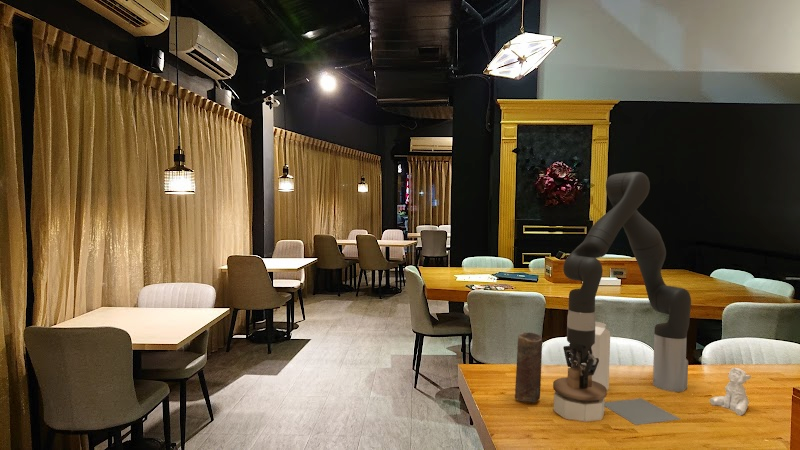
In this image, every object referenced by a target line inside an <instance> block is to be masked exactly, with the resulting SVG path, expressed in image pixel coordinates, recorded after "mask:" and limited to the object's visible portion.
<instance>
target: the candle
mask: <svg viewBox="0 0 800 450" xmlns="http://www.w3.org/2000/svg"><path fill="white" fill-rule="evenodd" d="M516 348H517V352H516V369H515V371H516V373H515V389H514V398H515V399H516V401H518V402H523V403H527V404H534V403H536V402H538V401H539V400H540V399H541V385H542V384H541V382H542V359H543V358H542V357H543V354H542V353H543V337H542V336H541V335H540V334H538V333H533V332H531V331H530V332H521V333H519V334H518V335H517V347H516Z"/></svg>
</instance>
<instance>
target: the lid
mask: <svg viewBox="0 0 800 450" xmlns="http://www.w3.org/2000/svg"><path fill="white" fill-rule="evenodd" d="M584 370H585V367H584V368H583V371H584ZM589 371H590V370H589ZM579 382H580V372H579V367H575V368H570V367H568V368H567V376H566V377H559V378H557V379H555V380H554V381H552V389H553V390H554V392H555V391H556V392H557V393H559V394H561V395H563V396H566V397H569V398H573V399H578V400H599V399H603V398H606V397H607V396H608V395H607V394H608V393H607V392H608V390H607V389H606V387H605V386H603V385H602V384H600V383H598V382H595V381H592V375H590V376H588V387H587V388H586V389H581V388H580V387H579Z"/></svg>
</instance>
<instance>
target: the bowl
mask: <svg viewBox="0 0 800 450" xmlns="http://www.w3.org/2000/svg"><path fill="white" fill-rule="evenodd" d="M553 394H554V395H553V411H554V412H555V413H556V414H557V415H559V416H560V417H562V418H563V419H566V420H570V421H573V420H575V421H579V422H593V421H594V422H595V421H601V420H603V417H604V414H605V406H604V403H605V402H606V400H605V398H606V397H605V398H603V399H599V400H578V399H573V398H569V397H566V396H563V395H561V394H559V393H557V392H556V391H555V390H554V393H553Z"/></svg>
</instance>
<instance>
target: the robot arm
mask: <svg viewBox="0 0 800 450" xmlns="http://www.w3.org/2000/svg"><path fill="white" fill-rule="evenodd" d="M650 185H651V183H650V180H649V177H648V176H647V175H646V174H645V173H643V172H640V171H631V172H621V173H620V172H619V173H614V174H611V175H609V176H608V178H607V179H606V182H605V191H606V194H607V198H608V199H609V203H610V204H611V206H612V208H611V209H610V210H608V212H606V213H605V214H604V215H602V216H601V217H600V218H599V219H597V220H596V222H595V223H594V224H593V225H592V226H591V228H590V229H589V231H588V233H587V235H586V236H585V238H584V240H583V241H582V242H581V243H580V244H579V245H578V246H576V247H575V248H574V250H572V252H571V253H569V254H568V256H567V257H566V258H565V260H564V263H563V266H562V267H563V275H564V276H565V277H566V278H567V279H569V280H572V281H577V282H582V285H581V287H580V288H574V289H571V290H570V291H569V294H568V310H567V311H568V312H567V318H566V319H567V320H566V321H567V323H566V325H567V326H566V341H567V343H569V344H568V345H564V346H563V352H564V353H563V354H564V356H565V360H566V362H565V363H566V365H567V367H568V368H575V367H579V372H580V382H579V387H580V388H581V389H586V388H587V387H588V376H590V375H594V372H595V370H596V367H597V365H598V362H599V359H598V358H595V357H594V356H593V355H592V348H591V347H592V345H593V344H594V343H595V322H596V311H595V310H596V296H597V293H598V289H599V285H600V283H601V280H602V277H603V265H602V263H601V261H600V260H599V258H603V257H604V256H606V254H607V253H608V251H609V249H610V248H611V247H612V244H613V242H614V241H615V239H616V238H617V236H618V234H619V232H620V231H621V229H622V228H623V230H624V233H625V235H626V236H627V239H628V242H629V246H630V248H631V251H632V253H633V256H634V258H635V260H636V263H637V265H638V268H639V271H640V273H641V276H642V279H643V283H644V286H645V290H646V294H647V298H648V301H649V304H650V306H651V307H652V309H653V310H654V311H656V312H658V313H660V314H665V315H668V320H667V322H663V323H661V322H660V323H658V324H657V323H656V324H655V326H654V335H653V337H654V338H653V361H652V362H653V367H652V368H653V369H652V370H653V371H652V386H654V387H655V388H657V389H659V390H663V391H668V392H674V393H682V392H684V391H685V390H688V380H689V379H688V378H689V377H688V376H689V360H688V359H687V358H686V357H687V335H688V330H689V327H690V317H691V308H692V299H691V298H692V297H691V294H690V292H689V291H688V290H687V289H685V288H682V287H678V286H671V285H667V284H666V282H665V281H664V279H663V275H662V268H663V266H664V262H665V260H666V256H667V250H666V247H665V243H664V241H663V238H662V235H661V233H660V231H659V230H658V229H657V228H656V226H654V225H653V224H652V223H651V222H650V221H649V220H647V218H645V217H644V216H643V215H642V214H641V213H640V212H639V211H638V208H639V207H640V206H641V205H642V204H643V203H644V201H645V200H646V199H647V197H648V195H649V193H650V189H651V186H650ZM582 363H586V364H582ZM584 367H585V370H584V371H583V368H584ZM589 370H590V371H589Z"/></svg>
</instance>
